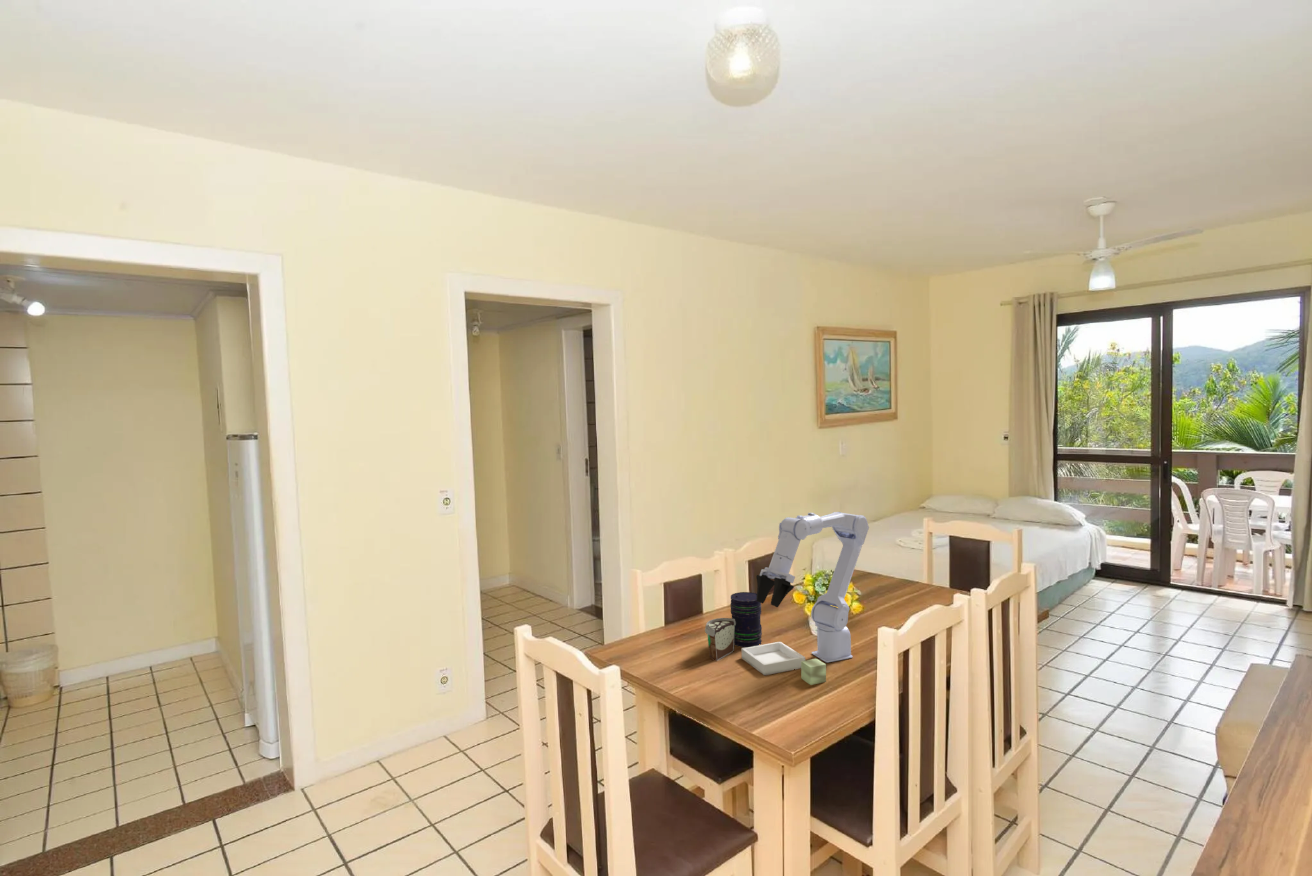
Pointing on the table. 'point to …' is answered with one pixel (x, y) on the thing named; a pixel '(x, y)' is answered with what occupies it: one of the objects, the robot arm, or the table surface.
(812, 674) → the green block
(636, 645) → the table surface
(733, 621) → the food container
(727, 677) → the table surface
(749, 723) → the table surface
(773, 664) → the grey tray
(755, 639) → the storage jar
